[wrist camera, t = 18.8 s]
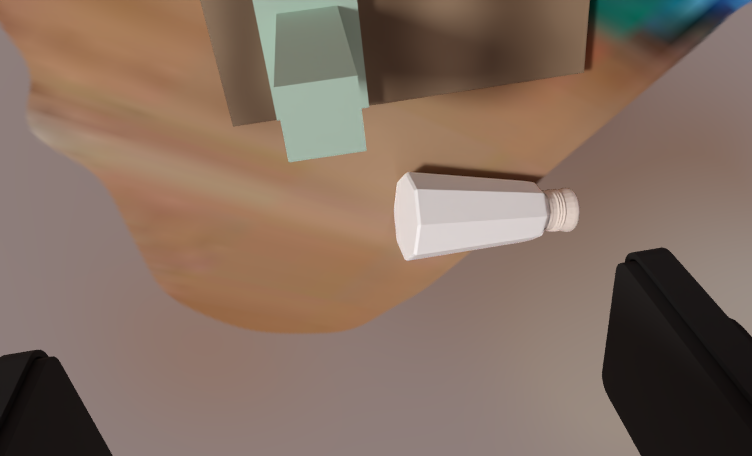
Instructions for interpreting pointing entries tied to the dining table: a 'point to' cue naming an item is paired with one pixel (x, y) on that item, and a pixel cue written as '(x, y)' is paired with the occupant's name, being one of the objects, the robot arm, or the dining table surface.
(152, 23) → the dining table surface
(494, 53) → the board
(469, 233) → the pepper shaker
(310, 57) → the mint t-shaped block
